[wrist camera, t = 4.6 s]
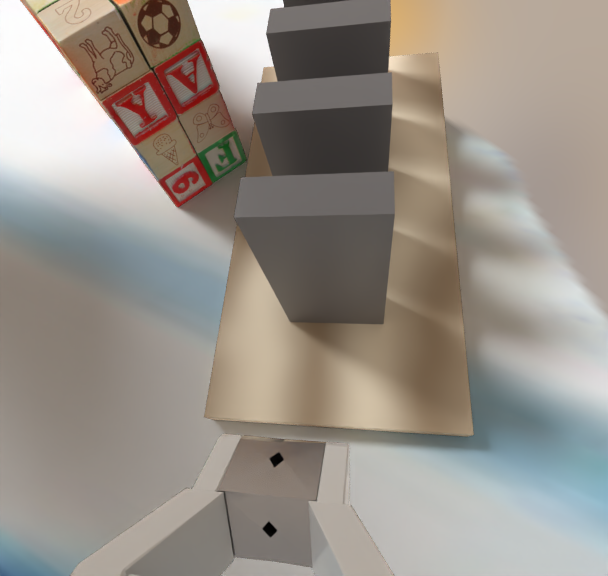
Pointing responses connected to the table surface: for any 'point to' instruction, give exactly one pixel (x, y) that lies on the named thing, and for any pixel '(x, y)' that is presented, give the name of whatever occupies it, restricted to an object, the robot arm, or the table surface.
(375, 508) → the table surface
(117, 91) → the stack of blocks
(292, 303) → the domino
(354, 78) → the domino
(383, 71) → the domino
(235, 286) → the domino board
